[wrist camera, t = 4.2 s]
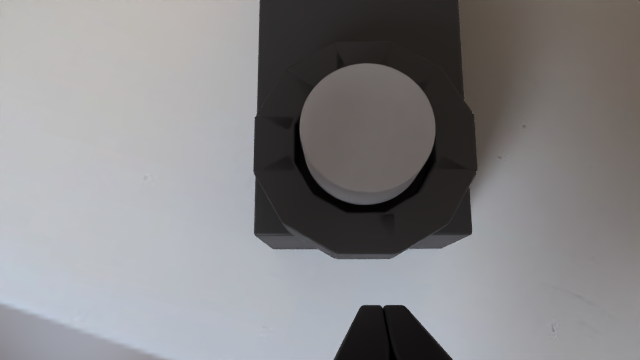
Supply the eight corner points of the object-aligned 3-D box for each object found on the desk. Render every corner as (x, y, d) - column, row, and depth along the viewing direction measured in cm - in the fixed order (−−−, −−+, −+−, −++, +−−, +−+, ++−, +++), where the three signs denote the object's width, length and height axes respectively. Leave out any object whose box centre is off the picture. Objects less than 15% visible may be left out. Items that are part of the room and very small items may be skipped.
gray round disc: (426, 205, 16) (439, 192, 14) (303, 206, 16) (298, 192, 14) (421, 89, 17) (433, 61, 15) (304, 91, 17) (299, 63, 15)
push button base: (443, 267, 22) (492, 253, 15) (271, 267, 22) (242, 254, 15) (428, -36, 25) (463, -163, 18) (276, -33, 25) (254, -158, 18)
